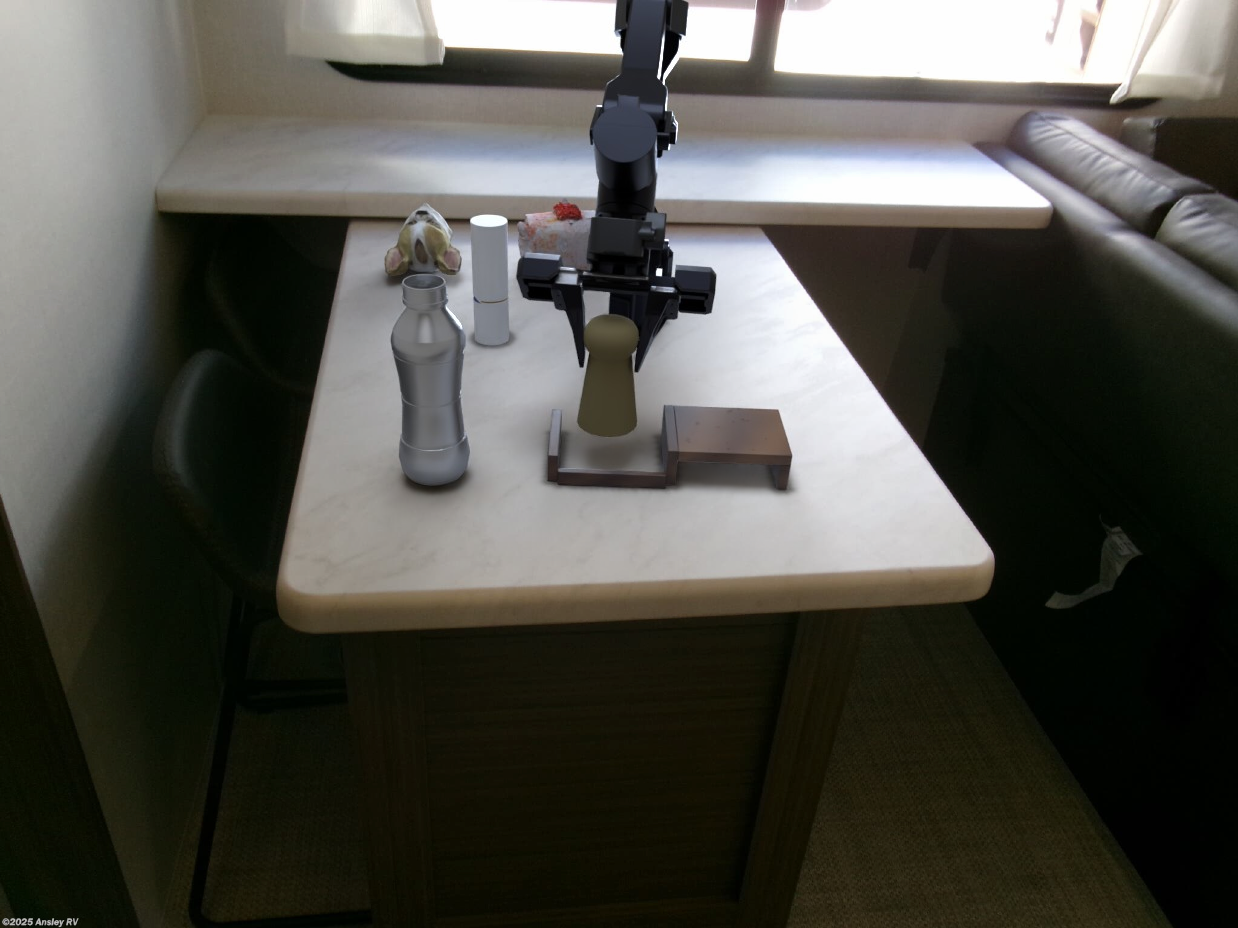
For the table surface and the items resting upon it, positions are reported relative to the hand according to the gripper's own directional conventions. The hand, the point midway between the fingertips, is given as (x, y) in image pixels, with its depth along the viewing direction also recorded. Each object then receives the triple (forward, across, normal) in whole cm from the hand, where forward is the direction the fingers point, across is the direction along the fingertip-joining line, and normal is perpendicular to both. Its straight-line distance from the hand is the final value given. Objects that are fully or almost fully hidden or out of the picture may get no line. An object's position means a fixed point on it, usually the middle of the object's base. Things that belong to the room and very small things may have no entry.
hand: (608, 369), depth 89 cm
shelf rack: (+6, +6, +9) cm, 13 cm away
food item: (-28, -11, +45) cm, 54 cm away
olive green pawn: (+4, 0, +6) cm, 7 cm away
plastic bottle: (+11, -16, +4) cm, 20 cm away
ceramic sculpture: (-25, -31, +42) cm, 58 cm away
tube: (-11, -17, +27) cm, 34 cm away
